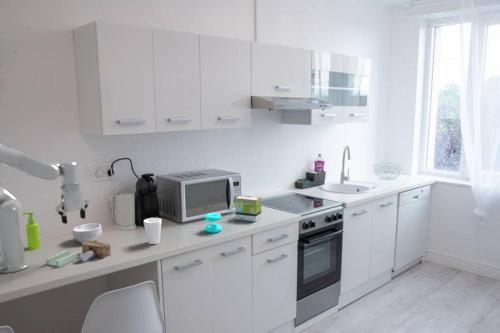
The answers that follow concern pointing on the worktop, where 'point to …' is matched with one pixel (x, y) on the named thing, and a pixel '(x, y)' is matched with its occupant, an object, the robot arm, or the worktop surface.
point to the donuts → (213, 218)
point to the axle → (87, 255)
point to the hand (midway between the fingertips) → (74, 220)
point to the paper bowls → (87, 232)
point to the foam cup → (153, 230)
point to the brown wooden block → (97, 248)
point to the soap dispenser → (32, 232)
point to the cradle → (62, 259)
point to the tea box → (248, 208)
